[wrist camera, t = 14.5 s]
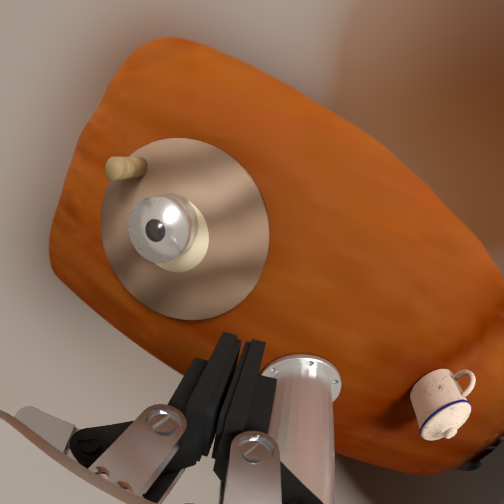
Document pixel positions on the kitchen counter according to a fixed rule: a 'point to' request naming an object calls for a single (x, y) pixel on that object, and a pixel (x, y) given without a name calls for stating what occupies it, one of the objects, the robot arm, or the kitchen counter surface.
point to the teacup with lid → (441, 403)
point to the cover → (163, 227)
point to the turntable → (209, 232)
